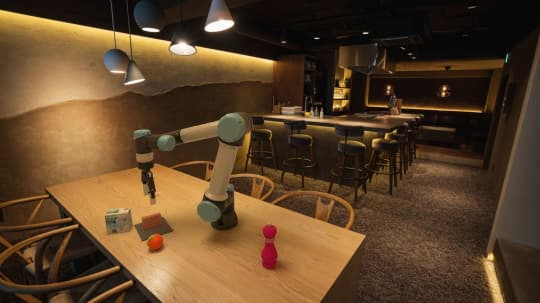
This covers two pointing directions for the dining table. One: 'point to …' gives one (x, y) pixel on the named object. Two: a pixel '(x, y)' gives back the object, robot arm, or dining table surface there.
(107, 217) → the light bulb box
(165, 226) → the mat
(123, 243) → the dining table surface
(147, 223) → the block
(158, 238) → the clementine
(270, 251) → the pink bowling pin
